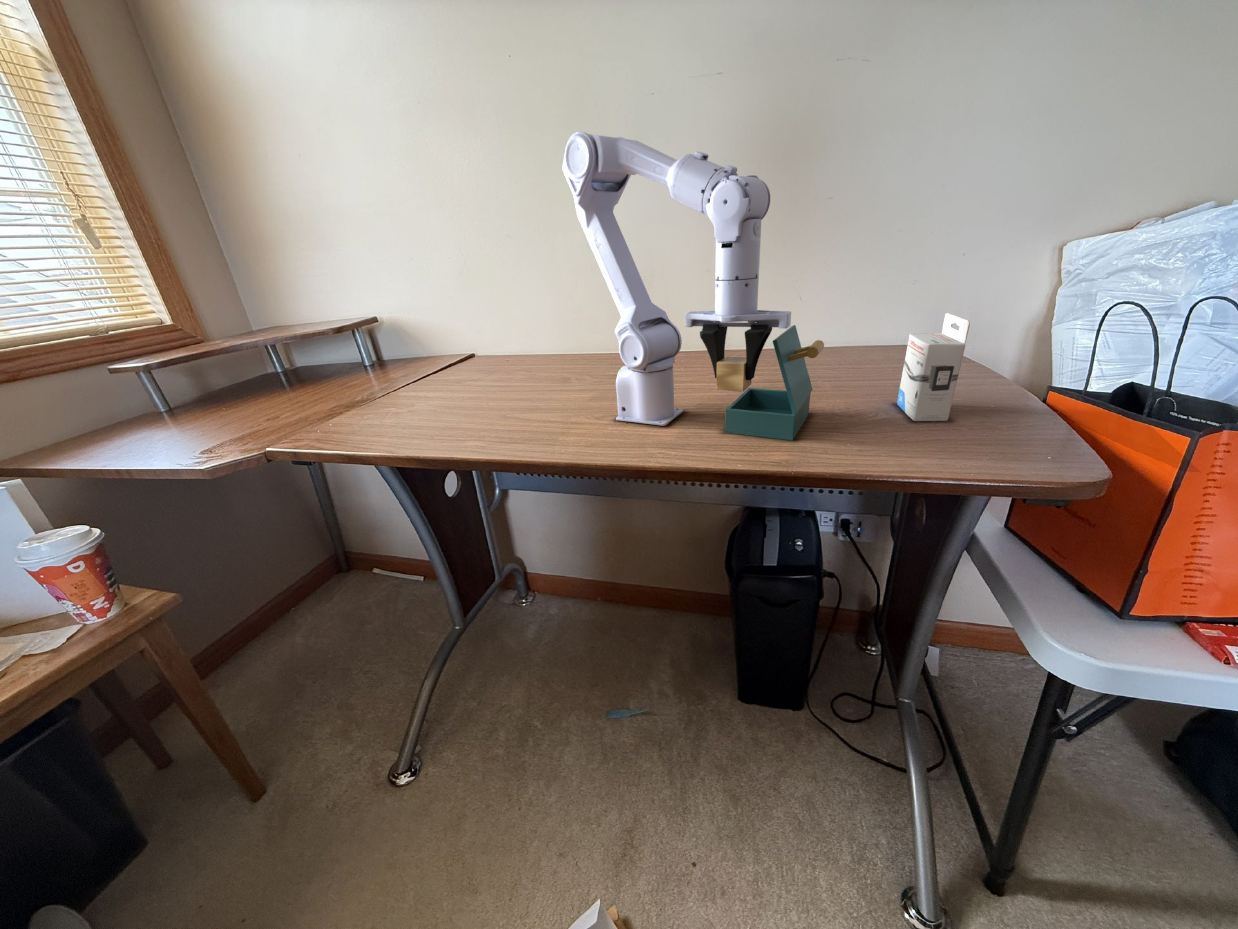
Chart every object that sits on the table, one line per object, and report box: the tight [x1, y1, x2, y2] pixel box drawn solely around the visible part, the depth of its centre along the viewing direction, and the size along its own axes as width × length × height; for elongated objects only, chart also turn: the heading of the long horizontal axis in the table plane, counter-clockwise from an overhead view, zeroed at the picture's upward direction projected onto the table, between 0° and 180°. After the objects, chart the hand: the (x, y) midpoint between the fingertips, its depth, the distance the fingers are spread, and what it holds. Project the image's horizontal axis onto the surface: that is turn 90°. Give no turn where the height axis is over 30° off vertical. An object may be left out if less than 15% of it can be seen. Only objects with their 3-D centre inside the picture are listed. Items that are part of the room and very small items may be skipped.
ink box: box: [896, 312, 971, 422], centre depth 73 cm, size 9×5×15 cm, turn 168°
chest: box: [724, 387, 812, 441], centre depth 76 cm, size 10×12×4 cm
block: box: [716, 356, 752, 393], centre depth 70 cm, size 4×4×4 cm
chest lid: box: [772, 324, 825, 414], centre depth 70 cm, size 11×12×5 cm
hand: (734, 377), depth 70 cm, fingers closed on block, 4 cm apart
